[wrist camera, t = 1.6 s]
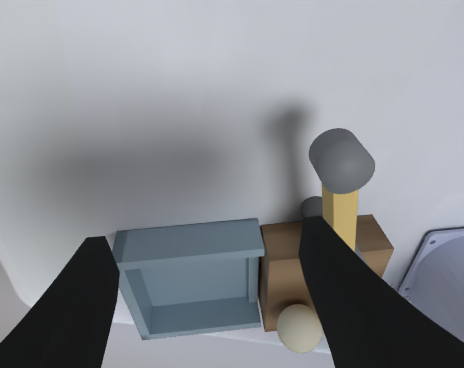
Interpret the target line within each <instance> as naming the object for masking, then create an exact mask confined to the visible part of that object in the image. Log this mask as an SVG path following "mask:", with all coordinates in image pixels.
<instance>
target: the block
mask: <svg viewBox="0 0 464 368" xmlns="http://www.w3.org/2000/svg"><path fill="white" fill-rule="evenodd" d="M301 212H302V215H303V218H304V217H311V216H322V217H323V204H322V197H311V198H309V199H307V200H305V201H304V202H303V203H302V205H301ZM302 226H303V221H301V222H291V223H280V224H270V225H261V236H262V240H263V245H264V256H260V268H259V296H258V297H259V302H260V308H261V313H262V319H263V324H264V330H265V332H269V331H277V321H278V318H279V316H280V314H281V312H282V311H283V310H284V309H285V308H287V307H288V306H290V305H294V304H302V305H306V306H308V307H310V308H311V309H312V310H314V311H315V312H316V310H315V307H314V304H313V302H312V299H311V296H310V294H309V291H308V288H307V285H306V283H305V280H304V276H303V272H302V268H301V264H300V260H299V255H298V252H299V246H300V239H301V233H302ZM355 242H356V244H357V246H358V248H359V250H360V251H361V253H362V255H363V257H364V259H365V261H366V263H367V264H368V266H369V267H370V268H371V269H372V270H373V271H374V272H375V273H376V274H377V275H378V276H379V277H381V278H382V275H383V273H384V271H385V269H386V266H387V264H388V262H389V259H390V257H391V255H392V253H393V250H394V248H393V246H392V244H391V243H390V241H389V240H388V238H387V237H386V235H385V234H384V232H383V231H382V229H381V227H380V226H379V224H378V223H377V221H376V220H375V218H374V217H373V215H364V216H357V221H356V238H355ZM316 314H317V312H316Z"/></svg>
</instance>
